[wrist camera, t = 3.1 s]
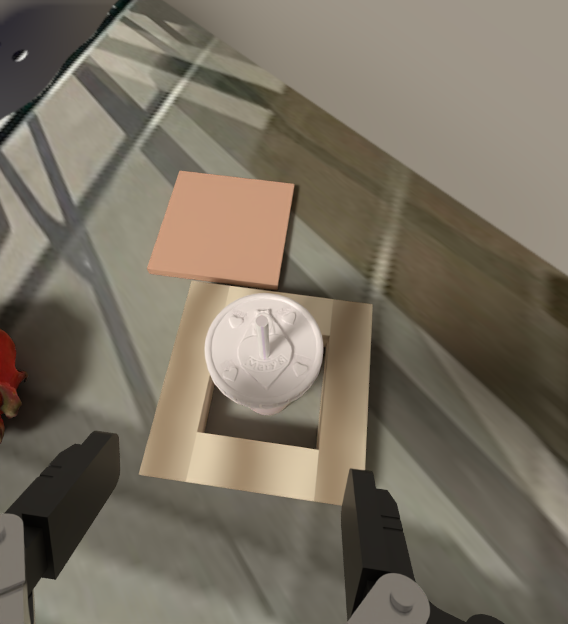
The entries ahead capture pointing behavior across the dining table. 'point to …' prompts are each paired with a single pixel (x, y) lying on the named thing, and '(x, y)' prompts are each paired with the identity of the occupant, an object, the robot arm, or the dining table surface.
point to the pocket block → (255, 454)
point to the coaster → (224, 230)
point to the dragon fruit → (9, 380)
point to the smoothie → (264, 351)
